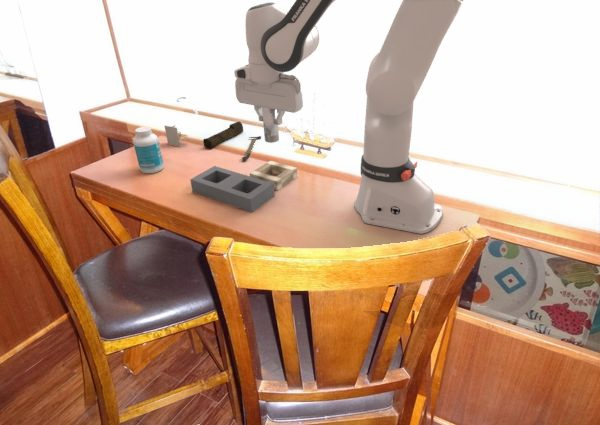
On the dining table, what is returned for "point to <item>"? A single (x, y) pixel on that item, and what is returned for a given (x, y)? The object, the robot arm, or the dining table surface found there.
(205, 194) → the block
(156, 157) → the pill bottle
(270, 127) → the metal peg
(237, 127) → the dark brown bar
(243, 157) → the tomahawk
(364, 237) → the dining table surface
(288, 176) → the socket block
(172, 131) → the architectural model
